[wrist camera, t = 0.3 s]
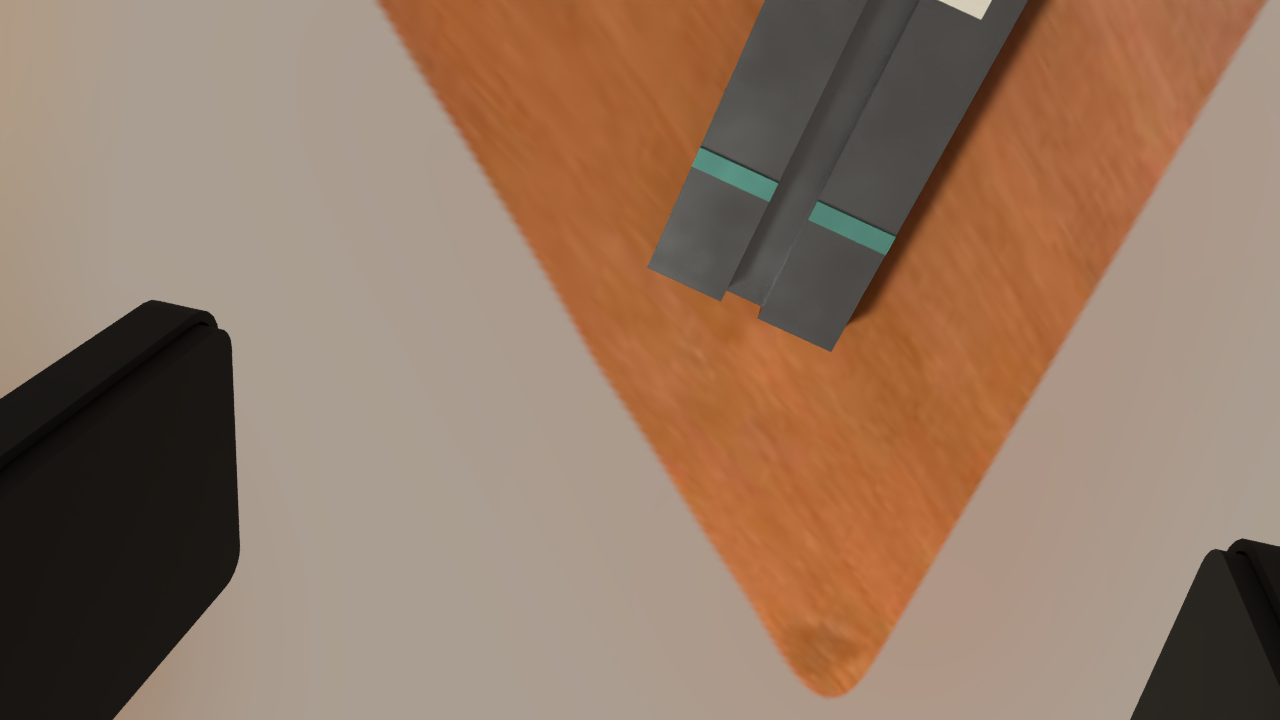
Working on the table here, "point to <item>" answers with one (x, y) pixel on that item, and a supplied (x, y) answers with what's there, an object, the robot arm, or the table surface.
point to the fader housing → (824, 152)
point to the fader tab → (970, 6)
